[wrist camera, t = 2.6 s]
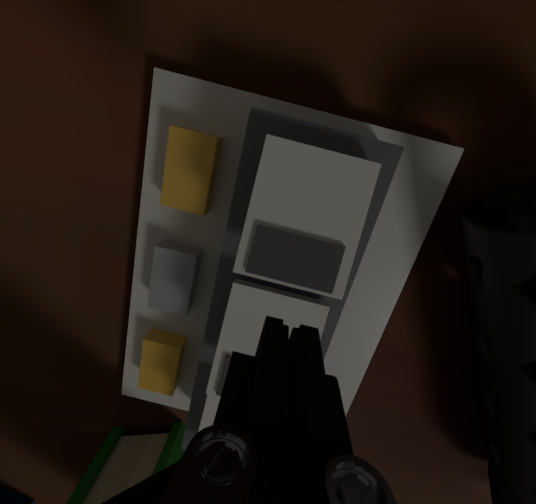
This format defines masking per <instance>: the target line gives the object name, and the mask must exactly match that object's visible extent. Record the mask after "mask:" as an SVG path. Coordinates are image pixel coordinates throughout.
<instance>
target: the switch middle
mask: <svg viewBox="0 0 536 504" xmlns="http://www.w3.org/2000/svg"><path fill="white" fill-rule="evenodd" d="M329 309H330V307H329V305H328V303H327V302H326V301H322V300H318V299H314V298H310V297H306V296H303V295H299V294H295V293H291V292H287V291H283V290H279V289H275V288H271V287H267V286H263V285H260V284H256V283H252V282H248V281H244V280H240V279H235V280H234V282H233V285H232V289H231V293H230V297H229V301H228V305H227V309H226V313H225V317H224V321H223V325H222V329H221V333H220V337H219V341H218V345H217V349H216V353H215V357H214V361H213V365H212V369H211V373H210V377H209V381H208V385H207V389H206V393H205V394H209V395H213V396H217V397H221V393H222V389H223V386H224V382H225V378H226V375H227V371H228V367H229V364H230V360H231V356H232V353H233V351H235V352H239V353H243V354H247V355H251V356H255V353H256V350H257V346H258V343H259V339H260V336H261V332H262V328H263V325H264V321H265V318H266V315H267V316H271V317H275V318H279V319H283V324H284V325H288V326H289V338H290V335H291V331H292V329H293V327H296V328H299V326H300V325H301V324H303V325H307V326H311V327H315V328H318V330H319V336H320V340H321V337H322V333H323V330H324V326H325V323H326V319H327V316H328V312H329Z"/></svg>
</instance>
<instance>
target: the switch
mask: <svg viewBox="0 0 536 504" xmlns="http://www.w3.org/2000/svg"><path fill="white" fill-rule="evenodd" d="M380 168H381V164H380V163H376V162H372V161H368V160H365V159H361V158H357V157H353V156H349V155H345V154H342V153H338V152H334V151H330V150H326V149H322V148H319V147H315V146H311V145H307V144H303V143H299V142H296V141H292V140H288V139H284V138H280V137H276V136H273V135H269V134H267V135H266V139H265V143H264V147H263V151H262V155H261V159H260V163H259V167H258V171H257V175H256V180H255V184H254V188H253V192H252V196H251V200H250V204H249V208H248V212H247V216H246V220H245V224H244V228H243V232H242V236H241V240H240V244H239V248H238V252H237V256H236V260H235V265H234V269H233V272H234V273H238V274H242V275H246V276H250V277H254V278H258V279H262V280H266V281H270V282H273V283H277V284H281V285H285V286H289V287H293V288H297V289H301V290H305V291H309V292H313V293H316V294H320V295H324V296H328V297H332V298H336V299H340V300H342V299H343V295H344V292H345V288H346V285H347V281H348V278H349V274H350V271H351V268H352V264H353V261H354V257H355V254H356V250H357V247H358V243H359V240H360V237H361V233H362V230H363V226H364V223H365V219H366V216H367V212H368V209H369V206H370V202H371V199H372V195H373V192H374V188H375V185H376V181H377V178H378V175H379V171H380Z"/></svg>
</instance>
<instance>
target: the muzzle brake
mask: <svg viewBox="0 0 536 504" xmlns="http://www.w3.org/2000/svg"><path fill="white" fill-rule="evenodd" d="M461 221H462V230H463V238H464V246H465V254H466V262H467V270H468V278H469V286H470V295H471V303H472V311H473V319H474V327H475V335H476V343H477V351H478V360H479V368H480V376H481V384H482V392H483V400H484V408H485V417H486V425H487V433H488V441H489V450H490V459H489V463H488V475H489V483H490V491H491V498H492V504H536V181H535V182H529V183H524V184H521V185H517V186H513V187H509V188H506V189H502V190H498V191H495V192H492V193H489V194H487V195H484V196H482V197H480V198H478V199H476V200H474V201H472V202H471V203H470V204H468V205H467V206H466V207H465V208H464V210H463V211H462V213H461Z"/></svg>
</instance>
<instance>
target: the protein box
mask: <svg viewBox="0 0 536 504" xmlns="http://www.w3.org/2000/svg"><path fill="white" fill-rule="evenodd" d="M33 502H34V500H33V499H30V498H27V497H25V496H22V495H20V494H17V493H15V492H12V491H10V490H7V489H5V488H2V487H0V504H33Z"/></svg>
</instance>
